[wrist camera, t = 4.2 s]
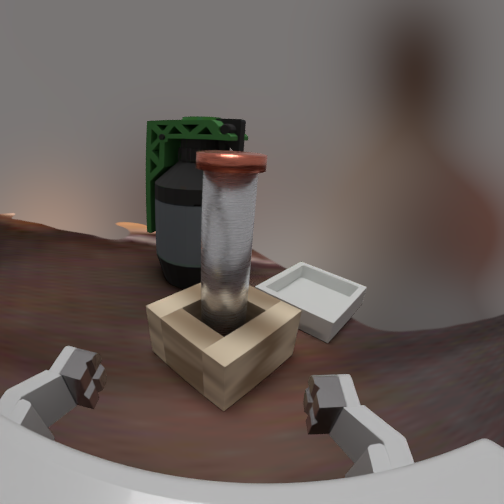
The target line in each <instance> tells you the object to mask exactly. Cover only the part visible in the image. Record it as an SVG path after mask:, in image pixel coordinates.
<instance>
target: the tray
mask: <svg viewBox="0 0 504 504" xmlns="http://www.w3.org/2000/svg"><path fill="white" fill-rule="evenodd" d="M255 288H256V289H258V290H260V291H262V292H264V293H266V294H268V295H270V296H272V297H274V298H277V299H279V300H281V301H283V302H285V303H287V304H289V305H291V306H293V307H295V308H298V309H300V310H302V312H301V317H300V322H299V326H298V329H300V330H302V331H304V332H306V333H308V334H310V335H312V336H314V337H316V338H318V339H320V340H322V341H324V342H326V343H328V342H329V341H330V340H331V339H332V338H333V337H334V336H335V335H336V334H337V333H338V331H339V330H340V329H341V328H342V327H343V326H344V325H345V324H346V322H347V321H348V320H349V319H350V318H351V317H352V316H353V314H354V313H355V312H356V311H357V310H358V308H359V307H360V306H361V305H362V303H363V299H364V295H365V292H366V289H367V287H365V286H363V285H360V284H357V283H355V282H352V281H350V280H347V279H344V278H342V277H340V276H337V275H335V274H332V273H329V272H327V271H324V270H322V269H319V268H317V267H314V266H311V265H309V264H306V263H303V262H299V263H298V264H296V265H294V266H292V267H290V268H288V269H287V270H285V271H283V272H281V273H279V274H277V275H276V276H274V277H272V278H270V279H268V280H266V281H264V282H263V283H261V284H259V285H257V286H255Z"/></svg>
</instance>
